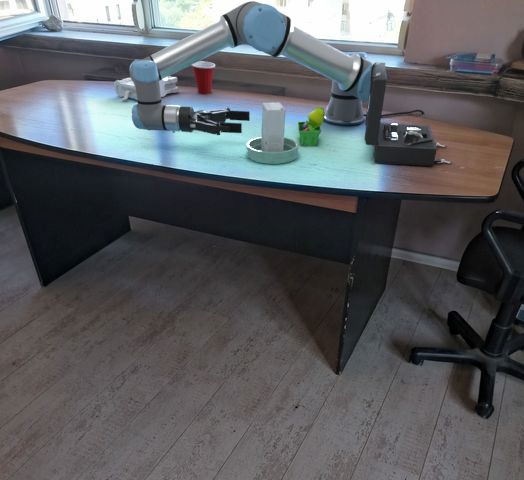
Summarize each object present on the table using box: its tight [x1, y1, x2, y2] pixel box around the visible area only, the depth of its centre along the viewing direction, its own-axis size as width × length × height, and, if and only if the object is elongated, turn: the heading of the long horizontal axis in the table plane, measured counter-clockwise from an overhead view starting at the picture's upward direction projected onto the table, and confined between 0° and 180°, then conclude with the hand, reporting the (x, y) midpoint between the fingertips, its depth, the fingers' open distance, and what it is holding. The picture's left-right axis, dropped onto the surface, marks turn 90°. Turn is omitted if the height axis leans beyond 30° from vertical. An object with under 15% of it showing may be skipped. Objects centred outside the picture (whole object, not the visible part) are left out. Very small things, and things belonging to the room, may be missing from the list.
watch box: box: [364, 61, 451, 167], centre depth 153 cm, size 26×28×24 cm
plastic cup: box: [191, 60, 216, 95], centre depth 220 cm, size 11×11×12 cm
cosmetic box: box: [260, 102, 287, 152], centre depth 153 cm, size 8×6×15 cm
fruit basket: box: [297, 106, 326, 147], centre depth 166 cm, size 11×9×11 cm
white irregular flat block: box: [113, 76, 179, 101], centre depth 217 cm, size 19×28×8 cm
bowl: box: [246, 136, 299, 165], centre depth 157 cm, size 17×17×4 cm
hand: (245, 122), depth 152 cm, fingers open, 13 cm apart
